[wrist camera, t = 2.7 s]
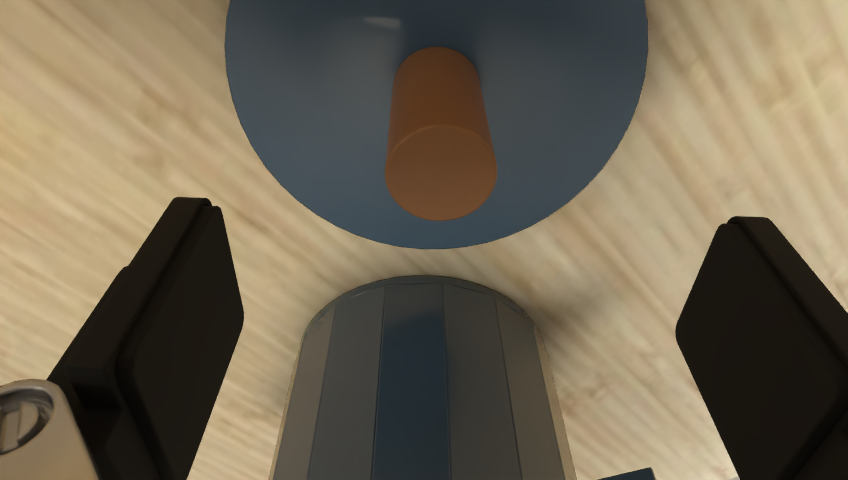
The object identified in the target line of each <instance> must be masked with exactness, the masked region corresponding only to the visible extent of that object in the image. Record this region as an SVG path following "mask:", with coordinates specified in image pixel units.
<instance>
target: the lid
mask: <svg viewBox="0 0 848 480" xmlns="http://www.w3.org/2000/svg"><path fill="white" fill-rule="evenodd" d="M647 55H648V20H647V13H646V7H645V0H230V3H229V8H228V13H227V18H226V33H225V58H226V71H227V77H228V82H229V87H230V92H231V96H232V100H233V103H234V106H235V109H236V112H237V115H238V118H239V120H240V123H241V125H242V127H243V129H244V131H245V133H246V135H247V138H248V140H249V142H250V144H251V146H252V147H253V149H254V150H255V152H256V153H257V155H258V156H259V158H260V159H261V161H262V162H263V164H264V165H265V167H266V168H267V169H268V170H269V172H270V173H271V174H272V175H273V176H274V177H275V179H276V180H277V181H278V182H279V183H280V185H282V186H283V187H284V188H285V189H286V190H287V191H288V192H289V193H290V194H291V195H292V196H293V197H294V198H295V199H296V200H298V201H299V202H300V203H302V204H303V205H304V206H306V207H307V208H308V209H310V210H311V211H312V212H314V213H315V214H316V215H318V216H320V217H321V218H323V219H325V220H327V221H328V222H330V223H332V224H333V225H335V226H337V227H339V228H342V229H344V230H346V231H348V232H351V233H353V234H355V235H358V236H361V237H364V238H367V239H370V240H373V241H376V242H380V243H385V244H389V245H394V246H399V247H407V248H417V249H450V248H460V247H468V246H473V245H478V244H483V243H487V242H491V241H494V240H497V239H500V238H503V237H507V236H509V235H512V234H514V233H517V232H519V231H521V230H524V229H526V228H528V227H530V226H532V225H534V224H536V223H537V222H539V221H541V220H543V219H545V218H546V217H548V216H550V215H551V214H553V213H554V212H555V211H557V210H558V209H560V208H561V207H563V206H564V205H565V204H567V203H568V202H569V201H570V200H572V199H573V198H574V197H575V196H576V195H577V194H578V193H580V192H581V191H582V190H583V189H584V188H585V187H586V186H587V185H588V184H589V183H590V182H591V181H592V180H593V178H594V177H595V176H596V175H597V174H598V173H599V172H600V171H601V170H602V168H603V167H604V166H605V164H606V163H607V161H608V160H609V159H610V157H611V156H612V154H613V153H614V152H615V150H616V149H617V147H618V145H619V143H620V141H621V140H622V138H623V136H624V134H625V132H626V131H627V129H628V127H629V124H630V122H631V119H632V117H633V114H634V112H635V109H636V107H637V104H638V101H639V97H640V94H641V90H642V86H643V82H644V78H645V72H646V63H647Z"/></svg>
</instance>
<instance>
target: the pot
mask: <svg viewBox="0 0 848 480" xmlns="http://www.w3.org/2000/svg"><path fill="white" fill-rule="evenodd" d="M269 480H577V478H576V474H575V469H574V465H573V461H572V456H571V452H570V447H569V443H568V439H567V434H566V430H565V426H564V421H563V417H562V413H561V408H560V404H559V400H558V395H557V391H556V386H555V382H554V378H553V373H552V369H551V365H550V360H549V356H548V353H547V351H546V349H545V347H544V344H543V341H542V338H541V336H540V333H539V331H538V329H537V327H536V326H535V324H534V323H533V321H532V320H531V319H530V318H529V317H528V315H527V314H526V313H525V312H524V311H523V310H522V309H521V308H520V307H518V306H517V305H516V304H515V303H513V302H512V301H511V300H509V299H507V298H506V297H504V296H503V295H501V294H499V293H497V292H495V291H493V290H491V289H488V288H486V287H484V286H481V285H478V284H475V283H472V282H468V281H464V280H459V279H454V278H449V277H439V276H405V277H395V278H390V279H385V280H380V281H376V282H373V283H370V284H366V285H363V286H360V287H358V288H356V289H354V290H351V291H349V292H347V293H345V294H343V295H342V296H340V297H338V298H336V299H335V300H333V301H332V302H331V303H329V304H328V305H327V306H326V307H324V308H323V309H322V310H321V311H320V312H319V313H318V314H317V315H316V316H315V317H314V318H313V319H312V321H311V322H310V324H309V325H308V327H307V328H306V330H305V332H304V335H303V337H302V339H301V343H300V347H299V351H298V354H297V357H296V360H295V363H294V367H293V372H292V376H291V381H290V385H289V390H288V394H287V399H286V403H285V408H284V412H283V417H282V421H281V426H280V430H279V435H278V439H277V444H276V448H275V453H274V457H273V462H272V466H271V471H270V475H269ZM598 480H657V479H656V477H655V475H654V472H653V470H652V468H651V467H649V468H644V469H640V470H636V471H632V472H628V473H623V474H619V475H615V476H611V477H606V478H602V479H598Z"/></svg>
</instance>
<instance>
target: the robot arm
mask: <svg viewBox="0 0 848 480" xmlns="http://www.w3.org/2000/svg"><path fill="white" fill-rule="evenodd" d="M243 322H244V311H243V305H242V301H241V296H240V292H239V287H238V283H237V278H236V274H235V269H234V265H233V260H232V255H231V251H230V246H229V242H228V237H227V233H226V228H225V224H224V219H223V215H222V211H221V209H220V207H218V206H212V204H211V202H210V200H209V199H207V198H188V197H176V198H174V199H173V200H172V201H171V203H170V204H169V206H168V207H167V209H166V210H165V212H164V213H163V215H162V216H161V218H160V219H159V221H158V222H157V224H156V225H155V227H154V228H153V230H152V231H151V233H150V234H149V236H148V237H147V239H146V240H145V242H144V243H143V245H142V246H141V248H140V249H139V251H138V252H137V254H136V255H135V257H134V258H133V260H132V261H131V263H130V264H129V266H126V267H124V268H123V269H122V270H121V271H120V272H119V273H118V275H117V276H116V278H115V279H114V281H113V282H112V283H111V285H110V286H109V288H108V289H107V291H106V292H105V294H104V295H103V297H102V298H101V300H100V301H99V303H98V304H97V306H96V307H95V309H94V310H93V312H92V313H91V315H90V316H89V317H88V319H87V320H86V322H85V323H84V325H83V326H82V328H81V329H80V331H79V332H78V334H77V335H76V337H75V338H74V340H73V341H72V343H71V344H70V346H69V347H68V349H67V350H66V351H65V353H64V354H63V356H62V357H61V359H60V360H59V362H58V363H57V365H56V366H55V368H54V369H53V371H52V372H51V374H50V375H49V377H48V378H47V380H40V379H27V380H19V381H14V382H11V383H8V384H5V385H2V386H0V480H186V479H187V477H188V475H189V472H190V469H191V467H192V464H193V461H194V458H195V456H196V453H197V450H198V448H199V445H200V442H201V439H202V437H203V434H204V431H205V428H206V426H207V423H208V420H209V418H210V415H211V412H212V409H213V407H214V404H215V401H216V398H217V396H218V393H219V390H220V387H221V385H222V382H223V379H224V377H225V374H226V371H227V368H228V366H229V363H230V360H231V357H232V355H233V352H234V349H235V347H236V344H237V341H238V338H239V336H240V333H241V330H242V327H243ZM675 332H676V340H677V343H678V345H679V348H680V350H681V352H682V354H683V356H684V358H685V361H686V363H687V365H688V367H689V369H690V371H691V374H692V376H693V378H694V380H695V382H696V384H697V387H698V389H699V391H700V393H701V395H702V398H703V400H704V402H705V404H706V406H707V408H708V411H709V413H710V415H711V417H712V419H713V421H714V424H715V426H716V428H717V430H718V432H719V435H720V437H721V439H722V441H723V443H724V445H725V448H726V450H727V452H728V454H729V456H730V458H731V461H732V463H733V465H734V467H735V469H736V471H737V474H738V476H739V478H740V480H848V313H847V312H846V311H845V309H844V308H843V307H842V306H841V305H840V303H839V302H838V301H837V300H836V299H835V297H834V296H833V295H832V294H831V293H830V291H829V290H828V289H827V288H826V286H825V285H824V284H823V283H822V282H821V280H820V279H819V278H818V277H817V276H816V274H815V273H814V272H813V271H812V269H811V268H810V267H809V266H808V265H807V263H806V262H805V261H804V260H803V259H802V257H801V256H800V255H799V254H798V252H797V251H796V250H795V249H794V248H793V246H792V245H791V244H790V243H789V242H788V240H787V239H786V238H785V237H784V236H783V234H782V233H781V232H780V231H779V229H778V228H777V227H776V226H775V225H774V223H773V222H772V221H771V220H770V219H768V218H765V217H742V216H735V217H732V218H731V219H729V220H728V222H727V224H721V225H720V226H719V227H718V229H717V231H716V233H715V235H714V238H713V240H712V242H711V245H710V247H709V249H708V252H707V254H706V256H705V259H704V261H703V263H702V266H701V268H700V270H699V273H698V275H697V277H696V280H695V282H694V284H693V287H692V289H691V291H690V294H689V296H688V298H687V301H686V303H685V305H684V308H683V310H682V312H681V315H680V317H679V319H678V322H677V325H676V330H675Z"/></svg>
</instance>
